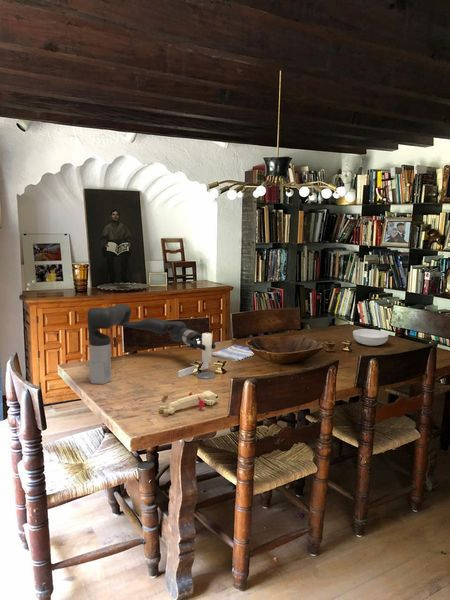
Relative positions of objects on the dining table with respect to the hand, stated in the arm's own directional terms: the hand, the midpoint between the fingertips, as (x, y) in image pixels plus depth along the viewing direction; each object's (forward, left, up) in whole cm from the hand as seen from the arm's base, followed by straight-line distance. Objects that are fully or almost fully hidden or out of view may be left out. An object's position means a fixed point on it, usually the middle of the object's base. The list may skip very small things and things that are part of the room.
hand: (209, 347), depth 225 cm
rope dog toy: (-37, +6, -15) cm, 40 cm away
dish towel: (+40, -14, -15) cm, 45 cm away
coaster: (+2, +2, -14) cm, 15 cm away
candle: (+2, +1, -7) cm, 8 cm away
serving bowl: (+70, -95, -15) cm, 119 cm away
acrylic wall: (+7, +8, -14) cm, 18 cm away
